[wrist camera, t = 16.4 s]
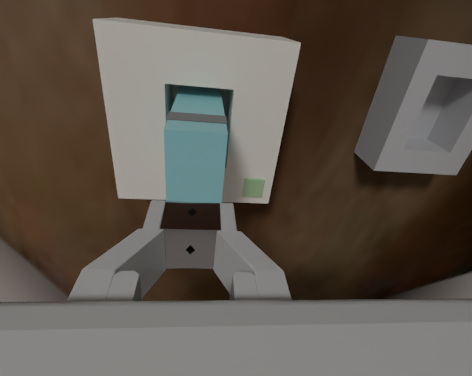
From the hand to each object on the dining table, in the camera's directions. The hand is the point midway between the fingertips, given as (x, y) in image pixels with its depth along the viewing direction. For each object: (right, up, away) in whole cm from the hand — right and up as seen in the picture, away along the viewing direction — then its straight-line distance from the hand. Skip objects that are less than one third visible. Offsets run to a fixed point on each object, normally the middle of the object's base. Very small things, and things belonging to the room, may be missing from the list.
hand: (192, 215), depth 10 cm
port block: (-1, +8, +13) cm, 15 cm away
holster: (+18, +9, +14) cm, 24 cm away
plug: (-1, +7, +12) cm, 14 cm away
